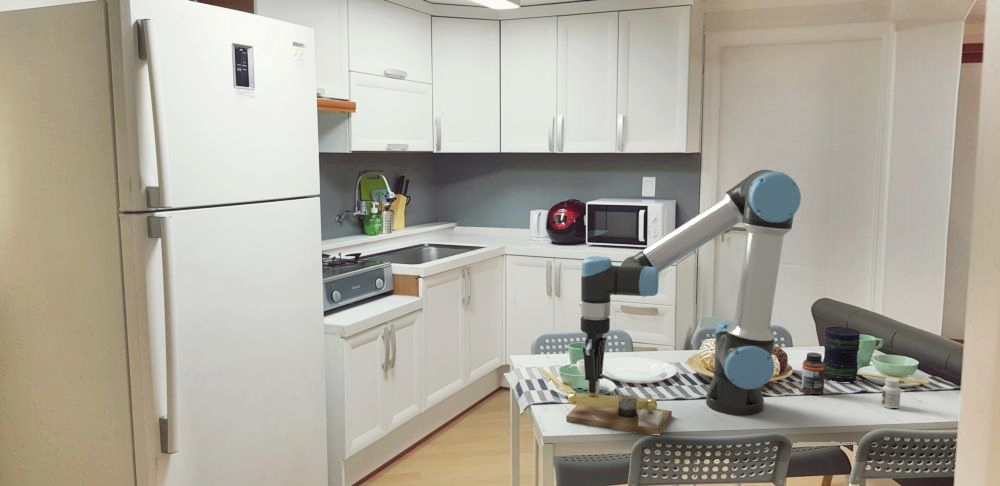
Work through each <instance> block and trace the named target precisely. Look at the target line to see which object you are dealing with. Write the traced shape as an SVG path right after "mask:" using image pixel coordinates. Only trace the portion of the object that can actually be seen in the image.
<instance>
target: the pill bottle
mask: <svg viewBox="0 0 1000 486" xmlns="http://www.w3.org/2000/svg"><path fill="white" fill-rule="evenodd" d="M884 380H885V382H884V384H885V385H883V386H882V394H881V395H882V396H881V406H882V405H883V406H885V407H888V408H898V409H900V404H901V403H900V402H901V392H902V391H901V388H900V387H899V386H900V379H899V378H897V377H895V378H894V377H886V378H885V379H884ZM883 406H882V407H883ZM885 407H884V408H885ZM888 408H887V409H888Z"/></svg>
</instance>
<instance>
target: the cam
mask: <svg viewBox="0 0 1000 486" xmlns="http://www.w3.org/2000/svg"><path fill="white" fill-rule="evenodd" d="M567 401H568V403H569V404H570V405H572V406H577V405H581V406H594V407H607V408H618V414H619V415H621V416H624V417H633V416H636V415H637V410H642V409H646V410H647V409H648V407H653V409H654V410H655V409H658V402H657V401H656V400H655V399H653V398H647V397H636V396H633V395H627V394H625V395H609V394H608V395H607V394H605V395H604V394H599V395H594V394H588V393H580V392H579V393H578V392H577V393H576V392H572V393H569V394H568V395H567Z"/></svg>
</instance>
